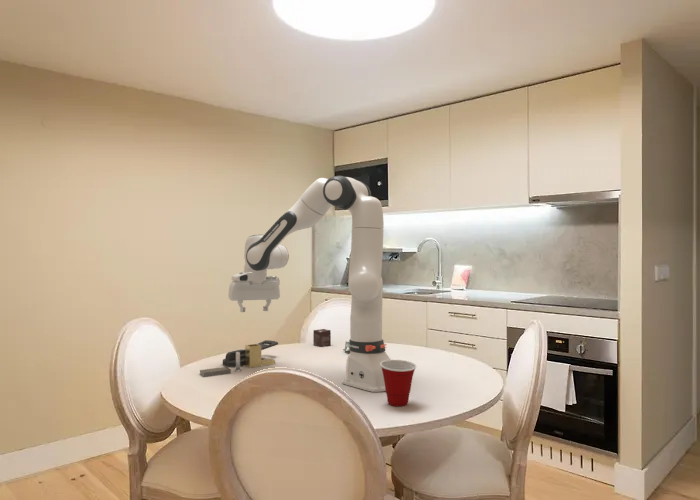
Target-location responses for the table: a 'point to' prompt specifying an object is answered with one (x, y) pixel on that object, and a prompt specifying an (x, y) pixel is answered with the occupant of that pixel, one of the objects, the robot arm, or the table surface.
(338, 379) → the table surface
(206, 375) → the fixed leaf
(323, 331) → the box
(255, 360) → the tan l-shaped bracket
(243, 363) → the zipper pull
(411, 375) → the plastic cup
